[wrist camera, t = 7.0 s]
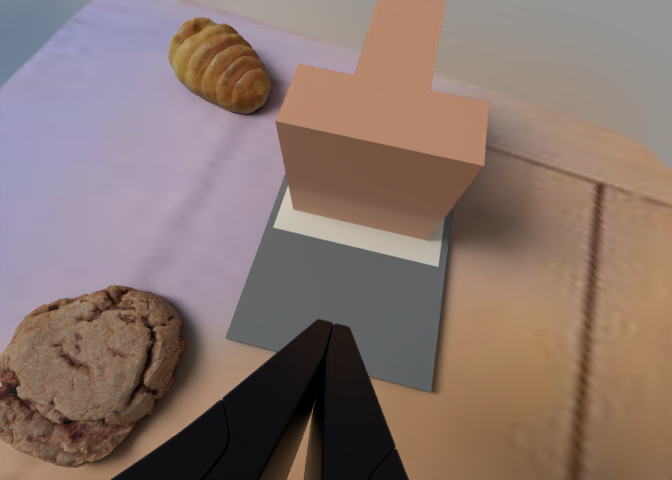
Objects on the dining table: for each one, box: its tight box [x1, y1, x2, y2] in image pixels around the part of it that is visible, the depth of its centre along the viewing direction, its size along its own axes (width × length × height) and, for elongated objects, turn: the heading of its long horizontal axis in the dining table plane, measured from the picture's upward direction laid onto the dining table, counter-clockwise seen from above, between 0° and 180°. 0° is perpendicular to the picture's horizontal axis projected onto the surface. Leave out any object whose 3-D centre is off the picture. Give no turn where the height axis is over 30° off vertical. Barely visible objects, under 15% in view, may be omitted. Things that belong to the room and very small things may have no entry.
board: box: [226, 174, 453, 392], centre depth 24 cm, size 22×13×1 cm, turn 166°
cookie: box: [0, 285, 186, 468], centre depth 19 cm, size 10×11×3 cm
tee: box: [276, 0, 489, 241], centre depth 21 cm, size 12×10×9 cm
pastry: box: [169, 17, 271, 114], centre depth 28 cm, size 9×7×4 cm
